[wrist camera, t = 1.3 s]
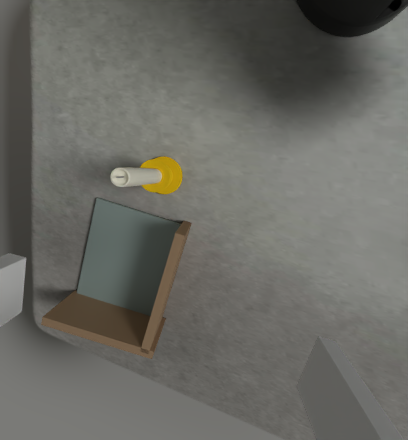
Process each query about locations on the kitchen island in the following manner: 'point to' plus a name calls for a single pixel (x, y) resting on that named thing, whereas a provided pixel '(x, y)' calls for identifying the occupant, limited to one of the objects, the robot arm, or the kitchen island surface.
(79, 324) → the open room model
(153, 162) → the candle
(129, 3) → the kitchen island surface
